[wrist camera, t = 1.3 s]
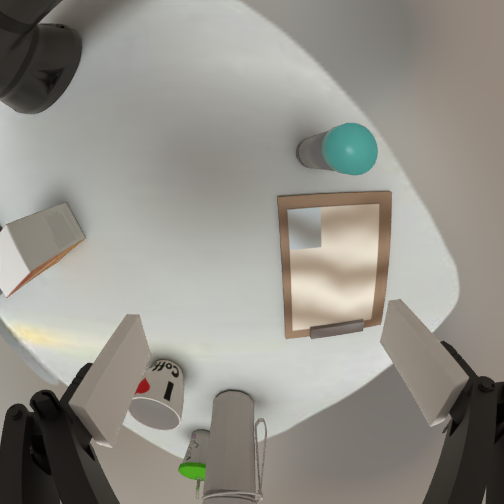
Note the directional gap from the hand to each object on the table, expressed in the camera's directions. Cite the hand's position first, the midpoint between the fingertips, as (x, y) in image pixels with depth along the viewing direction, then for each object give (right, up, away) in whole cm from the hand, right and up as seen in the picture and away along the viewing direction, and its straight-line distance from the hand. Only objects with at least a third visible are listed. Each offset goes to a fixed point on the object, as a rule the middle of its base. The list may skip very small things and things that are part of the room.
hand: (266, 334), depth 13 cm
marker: (+6, +16, +17) cm, 24 cm away
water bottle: (-3, -22, +30) cm, 37 cm away
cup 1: (-15, -16, +28) cm, 35 cm away
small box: (-29, +7, +20) cm, 36 cm away
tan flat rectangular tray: (+11, +2, +22) cm, 24 cm away
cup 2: (-11, -34, +34) cm, 50 cm away
